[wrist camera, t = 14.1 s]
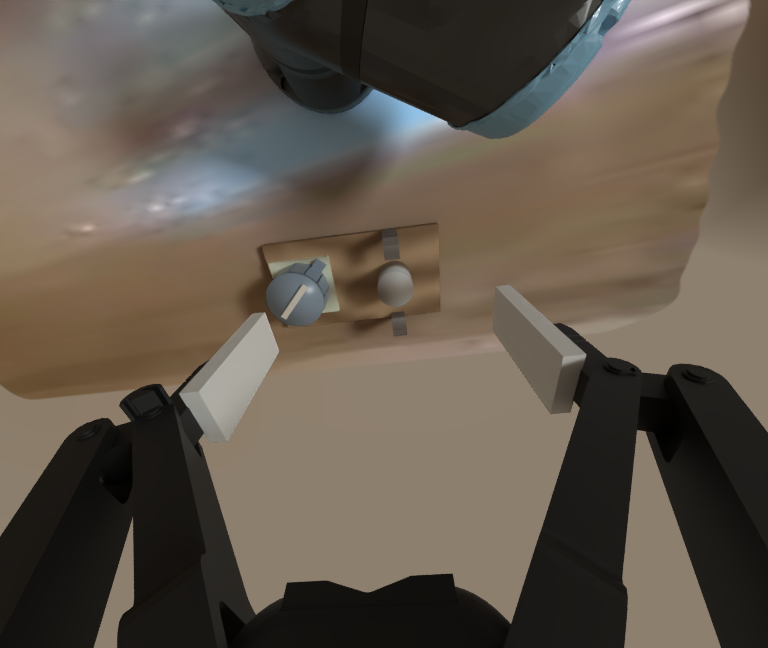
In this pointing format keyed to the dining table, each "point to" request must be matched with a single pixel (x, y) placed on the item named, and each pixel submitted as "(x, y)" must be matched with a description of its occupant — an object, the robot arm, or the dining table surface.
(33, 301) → the dining table surface
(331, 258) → the base
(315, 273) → the cap
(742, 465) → the robot arm
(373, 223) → the dining table surface
